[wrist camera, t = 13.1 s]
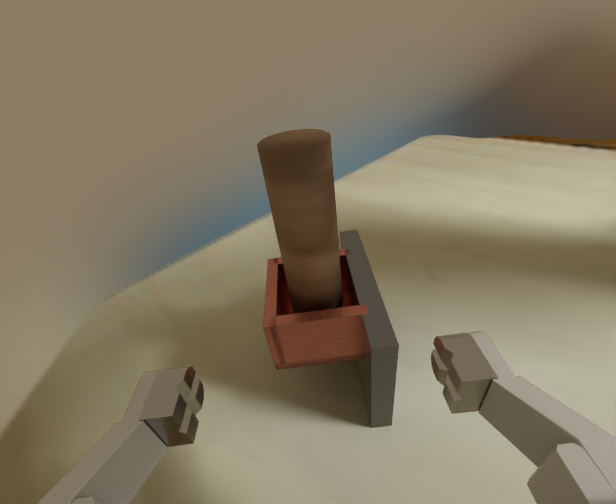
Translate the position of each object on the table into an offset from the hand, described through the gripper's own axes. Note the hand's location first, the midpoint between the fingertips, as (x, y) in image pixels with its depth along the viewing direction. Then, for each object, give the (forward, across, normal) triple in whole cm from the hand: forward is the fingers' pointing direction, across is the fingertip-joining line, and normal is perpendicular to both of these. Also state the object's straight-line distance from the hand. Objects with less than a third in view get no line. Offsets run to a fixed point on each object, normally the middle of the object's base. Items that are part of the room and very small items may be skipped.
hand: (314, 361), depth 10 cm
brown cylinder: (+10, 0, +9) cm, 14 cm away
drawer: (+10, 0, +15) cm, 18 cm away
